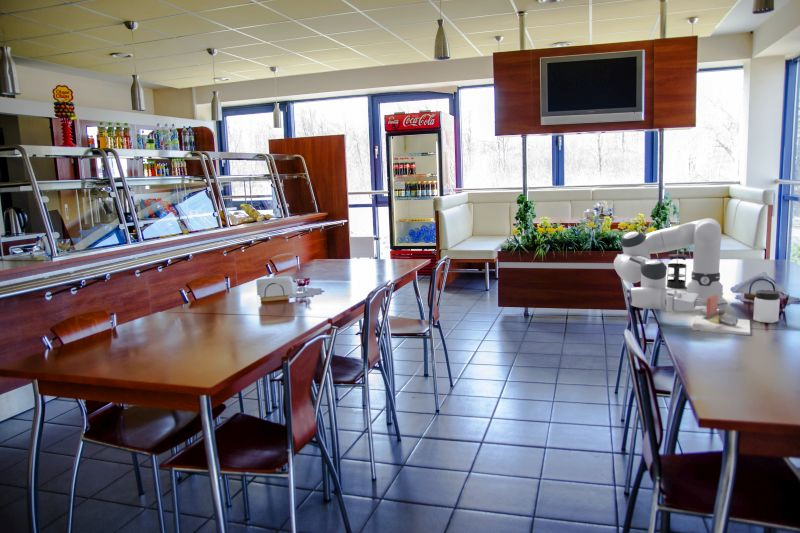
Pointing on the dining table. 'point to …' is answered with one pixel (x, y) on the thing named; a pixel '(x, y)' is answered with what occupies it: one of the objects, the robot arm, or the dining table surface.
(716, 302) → the lever
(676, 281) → the french press
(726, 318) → the valve body
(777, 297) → the jar
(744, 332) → the mounting plate
